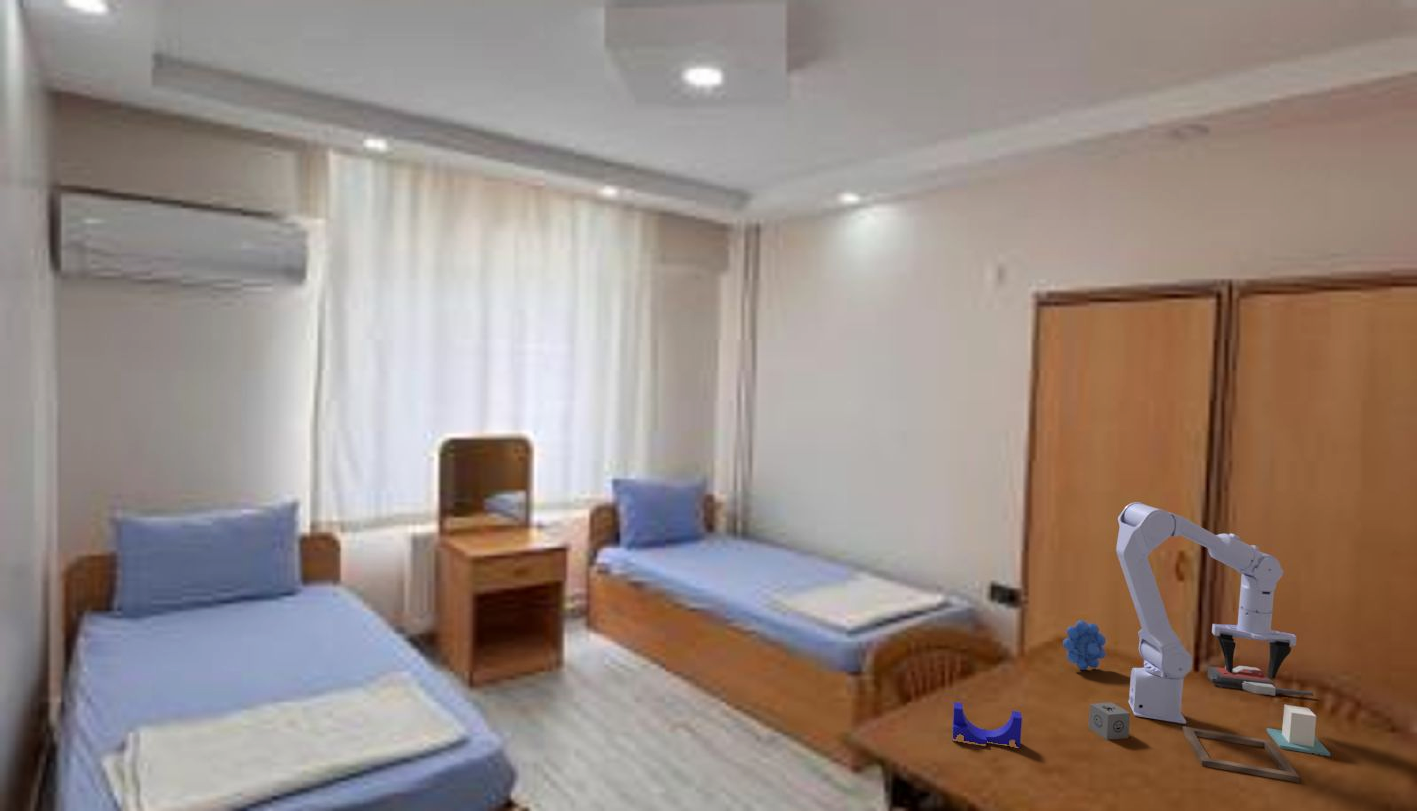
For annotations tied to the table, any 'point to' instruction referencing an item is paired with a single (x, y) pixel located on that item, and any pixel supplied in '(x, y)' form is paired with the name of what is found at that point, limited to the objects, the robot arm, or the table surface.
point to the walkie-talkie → (1248, 681)
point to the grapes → (1084, 645)
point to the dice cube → (1109, 720)
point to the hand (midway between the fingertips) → (1250, 673)
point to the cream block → (1299, 725)
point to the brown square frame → (1283, 774)
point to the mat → (1285, 744)
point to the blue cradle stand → (982, 736)
